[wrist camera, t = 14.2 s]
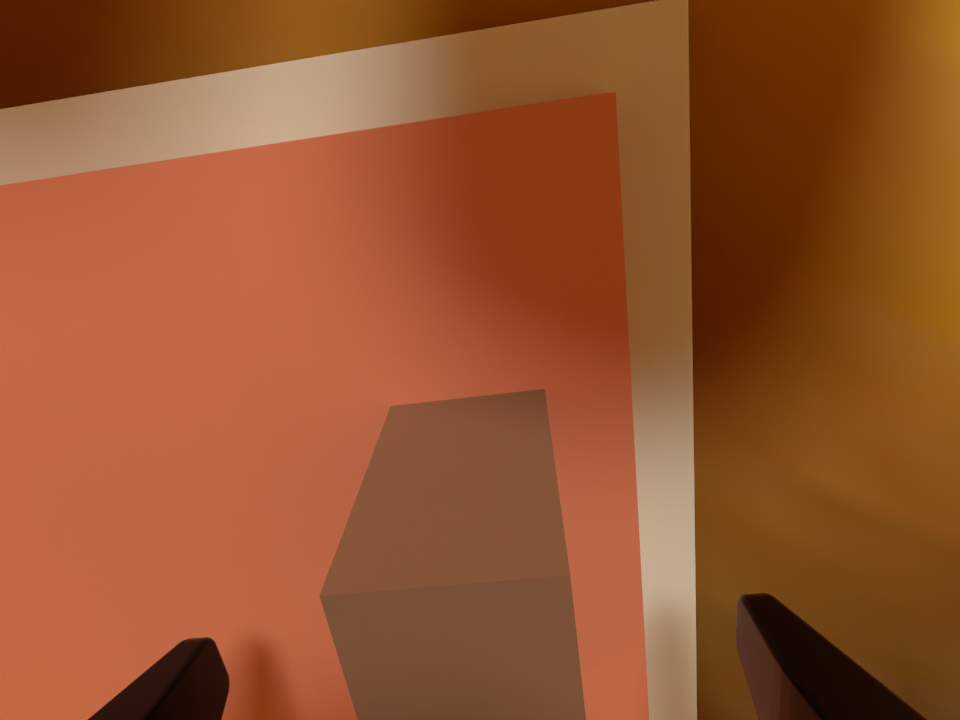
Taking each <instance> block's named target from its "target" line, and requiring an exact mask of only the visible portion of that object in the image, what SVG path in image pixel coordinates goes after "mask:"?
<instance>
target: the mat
mask: <svg viewBox="0 0 960 720" xmlns="http://www.w3.org/2000/svg"><path fill="white" fill-rule="evenodd" d="M609 92H616V107H617V126H618V144H619V163H620V182H621V200H622V219H623V238H624V257H625V275H626V294H627V313H628V332H629V350H630V369H631V388H632V407H633V425H634V444H635V463H636V481H637V500H638V519H639V538H640V556H641V575H642V594H643V613H644V631H645V650H646V669H647V688H648V706H649V720H697V674H696V591H695V509H694V426H693V344H692V262H691V179H690V97H689V14H688V0H656V1H650V2H644V3H638V4H632V5H626V6H620V7H614V8H608V9H602V10H596V11H590V12H583V13H577V14H571V15H565V16H559V17H553V18H547V19H541V20H535V21H529V22H523V23H517V24H511V25H505V26H499V27H493V28H487V29H481V30H475V31H469V32H463V33H457V34H451V35H445V36H439V37H433V38H427V39H421V40H415V41H409V42H403V43H397V44H391V45H385V46H378V47H372V48H366V49H360V50H354V51H348V52H342V53H336V54H330V55H324V56H318V57H312V58H306V59H300V60H294V61H288V62H282V63H276V64H270V65H264V66H258V67H252V68H246V69H240V70H234V71H228V72H222V73H216V74H210V75H204V76H198V77H192V78H186V79H180V80H173V81H167V82H161V83H155V84H149V85H143V86H137V87H131V88H125V89H119V90H113V91H107V92H101V93H95V94H89V95H83V96H77V97H71V98H65V99H59V100H53V101H47V102H41V103H35V104H29V105H23V106H17V107H11V108H5V109H0V185H5V184H12V183H18V182H25V181H32V180H38V179H45V178H51V177H58V176H64V175H71V174H77V173H84V172H90V171H97V170H103V169H110V168H117V167H123V166H130V165H136V164H143V163H149V162H156V161H162V160H169V159H175V158H182V157H188V156H195V155H201V154H208V153H215V152H221V151H228V150H234V149H241V148H247V147H254V146H260V145H267V144H273V143H280V142H286V141H293V140H299V139H306V138H313V137H319V136H326V135H332V134H339V133H345V132H352V131H358V130H365V129H371V128H378V127H384V126H391V125H397V124H404V123H411V122H417V121H424V120H430V119H437V118H443V117H450V116H456V115H463V114H469V113H476V112H482V111H489V110H496V109H502V108H509V107H515V106H522V105H528V104H535V103H541V102H548V101H554V100H561V99H567V98H574V97H580V96H587V95H594V94H600V93H609Z"/></svg>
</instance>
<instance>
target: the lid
mask: <svg viewBox="0 0 960 720" xmlns="http://www.w3.org/2000/svg"><path fill="white" fill-rule="evenodd" d="M202 637H209V638H211V639H213V640H214V641H215V643H216V645H217V647H218V650H219V652H220V655H221V657H222V660H223V662H224V665H225V667H226V669H227V672H228V675H229V681H230V686H229V693H228V697H227V701H226V705H225V708H224V712H223V716H222V719H221V720H649V706H648V688H647V669H646V650H645V631H644V613H643V594H642V575H641V556H640V538H639V519H638V500H637V481H636V463H635V444H634V425H633V407H632V388H631V369H630V350H629V332H628V313H627V294H626V275H625V257H624V238H623V219H622V200H621V182H620V163H619V144H618V126H617V107H616V92H609V93H600V94H594V95H587V96H580V97H574V98H567V99H561V100H554V101H548V102H541V103H535V104H528V105H522V106H515V107H509V108H502V109H496V110H489V111H482V112H476V113H469V114H463V115H456V116H450V117H443V118H437V119H430V120H424V121H417V122H411V123H404V124H397V125H391V126H384V127H378V128H371V129H365V130H358V131H352V132H345V133H339V134H332V135H326V136H319V137H313V138H306V139H299V140H293V141H286V142H280V143H273V144H267V145H260V146H254V147H247V148H241V149H234V150H228V151H221V152H215V153H208V154H201V155H195V156H188V157H182V158H175V159H169V160H162V161H156V162H149V163H143V164H136V165H130V166H123V167H117V168H110V169H103V170H97V171H90V172H84V173H77V174H71V175H64V176H58V177H51V178H45V179H38V180H32V181H25V182H18V183H12V184H5V185H0V720H88V719H89V718H90V717H91V716H92V715H94V714H95V713H96V712H97V711H98V710H99V709H101V708H102V707H103V706H104V705H105V704H107V703H108V702H109V701H110V700H111V699H113V698H114V697H115V696H116V695H117V694H119V693H120V692H121V691H122V690H123V689H125V688H126V687H127V686H128V685H129V684H131V683H132V682H133V681H134V680H135V679H137V678H138V677H139V676H140V675H141V674H143V673H144V672H145V671H146V670H147V669H149V668H150V667H151V666H152V665H153V664H154V663H156V662H157V661H158V660H159V659H160V658H162V657H163V656H164V655H165V654H166V653H168V652H169V651H170V650H171V649H172V648H174V647H175V646H176V645H177V644H178V643H180V642H181V641H183V640H185V639H190V638H202Z"/></svg>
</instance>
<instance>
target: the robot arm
mask: <svg viewBox="0 0 960 720" xmlns="http://www.w3.org/2000/svg"><path fill="white" fill-rule="evenodd" d="M736 642H737V648H738V653H739V657H740V660H741V663H742V666H743V670H744V673H745V676H746V679H747V682H748V686H749V689H750V692H751V695H752V698H753V701H754V705H755V708H756V711H757V714H758V717H759V720H927V719H926V718H924V717H923V716H922V715H921V714H919V713H918V712H917V711H916V710H914V709H913V708H912V707H911V706H909V705H908V704H907V703H906V702H904V701H903V700H902V699H901V698H899V697H898V696H897V695H896V694H894V693H893V692H892V691H891V690H889V689H888V688H887V687H886V686H884V685H883V684H882V683H881V682H879V681H878V680H877V679H876V678H874V677H873V676H872V675H871V674H869V673H868V672H867V671H866V670H864V669H863V668H862V667H861V666H859V665H858V664H857V663H856V662H854V661H853V660H852V659H851V658H849V657H848V656H847V655H846V654H845V653H843V652H842V651H841V650H840V649H838V648H837V647H836V646H835V645H833V644H832V643H831V642H830V641H828V640H827V639H826V638H825V637H823V636H822V635H821V634H820V633H818V632H817V631H816V630H815V629H813V628H812V627H811V626H810V625H808V624H807V623H806V622H805V621H803V620H802V619H801V618H800V617H798V616H797V615H796V614H795V613H793V612H792V611H791V610H790V609H788V608H787V607H786V606H785V605H783V604H782V603H781V602H780V601H778V600H777V599H776V598H775V597H773V596H772V595H770V594H767V593H759V594H746V595H741V596H740V597H739V598H738V601H737V625H736ZM229 686H230V681H229V675H228V672H227V669H226V667H225V665H224V662H223V660H222V657H221V655H220V652H219V650H218V647H217V645H216V643H215V641H214V640H213V639H211V638H209V637H202V638H190V639H185V640H183V641H181V642H180V643H178V644H177V645H176V646H175V647H174V648H172V649H171V650H170V651H169V652H168V653H166V654H165V655H164V656H163V657H162V658H160V659H159V660H158V661H157V662H156V663H154V664H153V665H152V666H151V667H150V668H149V669H147V670H146V671H145V672H144V673H143V674H141V675H140V676H139V677H138V678H137V679H135V680H134V681H133V682H132V683H131V684H129V685H128V686H127V687H126V688H125V689H123V690H122V691H121V692H120V693H119V694H117V695H116V696H115V697H114V698H113V699H111V700H110V701H109V702H108V703H107V704H105V705H104V706H103V707H102V708H101V709H99V710H98V711H97V712H96V713H95V714H94V715H92V716H91V717H90V718H89V719H88V720H221V719H222V716H223V712H224V708H225V705H226V701H227V697H228V693H229Z"/></svg>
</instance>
